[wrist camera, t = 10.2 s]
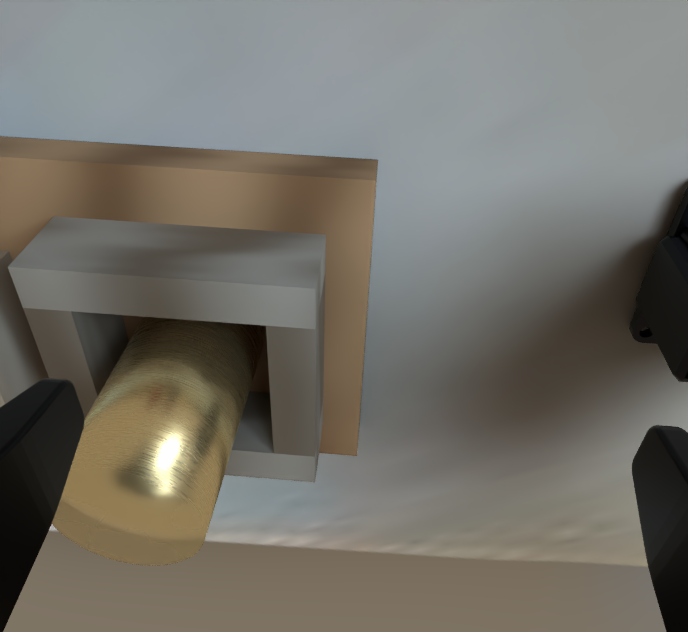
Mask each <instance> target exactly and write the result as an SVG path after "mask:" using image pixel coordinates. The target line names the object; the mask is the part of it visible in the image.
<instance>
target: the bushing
mask: <svg viewBox="0 0 688 632" xmlns="http://www.w3.org/2000/svg"><path fill="white" fill-rule="evenodd" d="M263 343H264V337H263V331H262V328H261V325H251V324H237V323H223V322H210V321H196V320H183V319H169V318H155V317H143V318H142V320H141V322H140V323H139V325H138V327H137V329H136V330H135V332H134V334H133V336H132V337H131V339H130V341H129V343H128V344H127V346H126V348H125V350H124V351H123V353H122V355H121V357H120V358H119V360H118V362H117V364H116V365H115V367H114V369H113V371H112V372H111V374H110V376H109V378H108V379H107V381H106V383H105V385H104V386H103V388H102V390H101V392H100V393H99V395H98V397H97V399H96V400H95V402H94V404H93V406H92V407H91V409H90V411H89V413H88V414H87V416H86V418H85V420H84V428H83V432H82V435H81V438H80V441H79V444H78V447H77V450H76V453H75V456H74V459H73V463H72V466H71V469H70V472H69V475H68V478H67V481H66V484H65V487H64V490H63V493H62V497H61V500H60V503H59V505H58V508H57V511H56V514H55V517H54V519H53V521H52V524H53V525H54V527H55V528H56V529H57V530H58V531H59V532H61V533H62V534H63V535H64V536H65V537H67V538H68V539H70V540H71V541H73V542H74V543H76V544H77V545H79V546H81V547H83V548H85V549H87V550H89V551H91V552H93V553H96V554H98V555H100V556H103V557H106V558H109V559H113V560H116V561H120V562H125V563H130V564H138V565H167V564H173V563H177V562H180V561H183V560H186V559H188V558H190V557H191V556H193V555H194V554H196V552H198V551H199V550H200V548H201V547H202V545H203V543H204V540H205V537H206V533H207V530H208V527H209V523H210V520H211V517H212V514H213V510H214V507H215V504H216V500H217V497H218V494H219V490H220V487H221V484H222V480H223V477H224V474H225V471H226V467H227V464H228V461H229V457H230V454H231V451H232V447H233V444H234V441H235V437H236V434H237V431H238V428H239V424H240V421H241V418H242V414H243V411H244V408H245V404H246V401H247V398H248V395H249V391H250V388H251V385H252V381H253V378H254V375H255V371H256V368H257V365H258V361H259V358H260V355H261V352H262V348H263Z"/></svg>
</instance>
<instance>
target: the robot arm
mask: <svg viewBox="0 0 688 632" xmlns="http://www.w3.org/2000/svg"><path fill="white" fill-rule="evenodd" d="M636 302H637V304H638V306H637V308H636V311H635V313H634V316H633V318H632V320H631V323H630V327H629V329H630V331H631V334H632V336H633V338H634V339H635V340H636V341H638V342H642V343H656V344H658V346H659V348H660V350H661V352H662V354H663V356H664V358H665V360H666V362H667V364H668V366H669V368H670V370H671V372H672V374H673V375H674V376H675V377H676V379H677V380H678V381H679V382H688V187H687V189H686V191H685V194H684V196H683V198H682V201H681V203H680V206H679V208H678V210H677V213H676V215H675V218H674V220H673V222H672V225H671V227H670V230H669V232H668V234H667V236H666V237H665V238H663V239H662V240H661V241H660V242H659V244H658V246H657V249H656V251H655V254H654V256H653V259H652V261H651V263H650V266H649V268H648V271H647V273H646V276H645V278H644V280H643V283H642V285H641V288H640V290H639V292H638V295H637V297H636ZM645 327H649V328H648V329H646V330H643V331H641V329H643V328H645ZM83 428H84V413H83V410H82V407H81V404H80V401H79V398H78V395H77V392H76V390H75V387H74V385H73V383H72V382H71V381H70V380H67V379H55V378H45V379H42V380H40V381H38V382H37V383H35V384H34V385H32V386H31V387H29V388H28V389H26V390H25V391H23V392H22V393H20V394H19V395H17V396H16V397H14V398H13V399H12V400H10V401H9V402H7V403H6V404H4V405H3V406H1V407H0V632H3V630H4V628H5V626H6V624H7V622H8V619H9V617H10V615H11V613H12V610H13V608H14V606H15V604H16V602H17V599H18V597H19V595H20V593H21V591H22V588H23V586H24V584H25V582H26V580H27V577H28V575H29V573H30V571H31V568H32V566H33V564H34V562H35V559H36V557H37V555H38V553H39V551H40V549H41V546H42V544H43V542H44V540H45V537H46V535H47V533H48V531H49V528H50V526H51V524H52V521H53V519H54V517H55V514H56V511H57V508H58V505H59V503H60V500H61V497H62V493H63V490H64V487H65V484H66V481H67V478H68V475H69V472H70V469H71V466H72V463H73V459H74V456H75V453H76V450H77V447H78V444H79V441H80V438H81V435H82V432H83ZM632 475H633V481H634V487H635V493H636V499H637V505H638V511H639V517H640V523H641V529H642V535H643V541H644V547H645V552H646V558H647V563H648V568H649V571H650V575H651V579H652V583H653V586H654V590H655V593H656V597H657V600H658V604H659V607H660V611H661V614H662V618H663V621H664V625H665V628H666V632H688V433H687V432H686V431H685V430H683V429H682V428H679V427H672V426H659V425H656V426H652V427H651V428H650V429H649V430H648V432H647V433H646V435H645V437H644V439H643V441H642V443H641V445H640V447H639V449H638V451H637V453H636V455H635V457H634V459H633V463H632Z"/></svg>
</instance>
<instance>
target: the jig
mask: <svg viewBox="0 0 688 632" xmlns="http://www.w3.org/2000/svg"><path fill="white" fill-rule="evenodd" d="M377 165H378V160H372V159H356V158H340V157H324V156H308V155H291V154H275V153H259V152H243V151H227V150H211V149H195V148H179V147H162V146H146V145H130V144H114V143H98V142H82V141H66V140H50V139H33V138H17V137H1V136H0V407H1V406H3V405H4V404H6V403H7V402H9V401H10V400H12V399H13V398H14V397H16V396H17V395H19V394H20V393H22V392H23V391H25V390H26V389H28V388H29V387H31V386H32V385H34V384H35V383H37V382H38V381H40V380H42V379H45V378H55V379H67V380H70V381H71V382H72V383H73V385H74V387H75V390H76V392H77V395H78V398H79V401H80V404H81V407H82V410H83V413H84V420H85V418H86V416H87V414H88V413H89V411H90V409H91V407H92V406H93V404H94V402H95V400H96V399H97V397H98V395H99V393H100V392H101V390H102V388H103V386H104V385H105V383H106V381H107V379H108V378H109V376H110V374H111V372H112V371H113V369H114V367H115V365H116V364H117V362H118V360H119V358H120V357H121V355H122V353H123V351H124V350H125V348H126V346H127V344H128V343H129V341H130V339H131V337H132V336H133V334H134V332H135V330H136V329H137V327H138V325H139V323H140V322H141V320H142V318H143V317H155V318H169V319H183V320H196V321H210V322H223V323H237V324H251V325H261V328H262V331H263V337H264V343H263V348H262V352H261V355H260V358H259V361H258V365H257V368H256V371H255V375H254V378H253V381H252V385H251V388H250V391H249V395H248V398H247V401H246V404H245V408H244V411H243V414H242V418H241V421H240V424H239V428H238V431H237V434H236V437H235V441H234V444H233V447H232V451H231V454H230V457H229V461H228V464H227V467H226V471H225V474H224V475H234V476H246V477H258V478H270V479H282V480H294V481H306V482H315V477H316V470H317V463H318V455H319V453H328V454H340V455H353V456H357V448H358V434H359V420H360V406H361V392H362V378H363V364H364V349H365V335H366V321H367V307H368V293H369V278H370V264H371V250H372V236H373V222H374V207H375V193H376V179H377Z"/></svg>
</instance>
